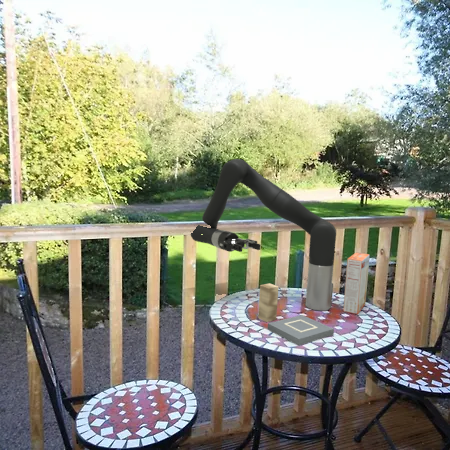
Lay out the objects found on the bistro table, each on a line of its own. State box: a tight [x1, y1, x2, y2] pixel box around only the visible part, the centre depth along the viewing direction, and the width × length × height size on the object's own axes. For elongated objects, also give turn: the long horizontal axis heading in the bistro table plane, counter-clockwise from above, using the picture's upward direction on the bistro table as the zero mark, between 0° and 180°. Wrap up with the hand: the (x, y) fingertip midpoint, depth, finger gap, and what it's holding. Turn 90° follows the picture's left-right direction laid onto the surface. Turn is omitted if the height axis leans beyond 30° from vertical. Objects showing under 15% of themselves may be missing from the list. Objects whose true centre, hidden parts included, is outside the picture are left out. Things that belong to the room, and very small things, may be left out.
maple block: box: [257, 282, 279, 323], centre depth 141 cm, size 4×4×12 cm
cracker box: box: [342, 252, 370, 315], centre depth 156 cm, size 14×6×21 cm, turn 150°
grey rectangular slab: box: [267, 314, 335, 346], centre depth 131 cm, size 16×14×2 cm
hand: (250, 248), depth 147 cm, fingers open, 8 cm apart
